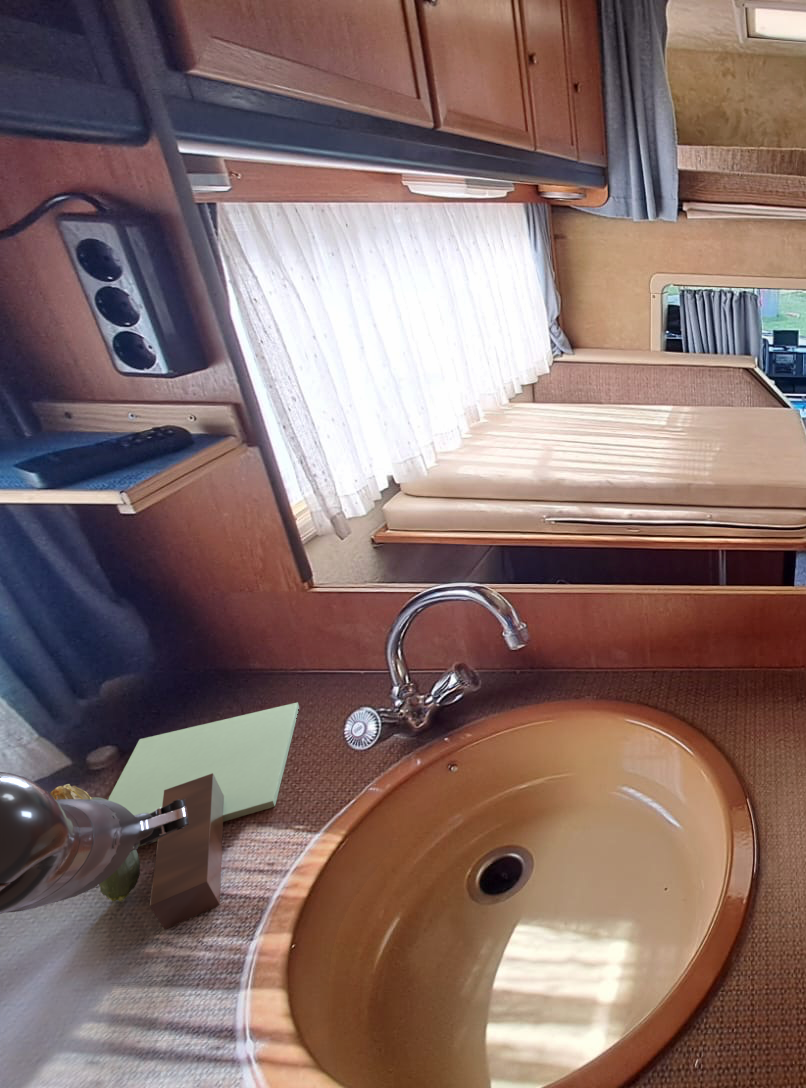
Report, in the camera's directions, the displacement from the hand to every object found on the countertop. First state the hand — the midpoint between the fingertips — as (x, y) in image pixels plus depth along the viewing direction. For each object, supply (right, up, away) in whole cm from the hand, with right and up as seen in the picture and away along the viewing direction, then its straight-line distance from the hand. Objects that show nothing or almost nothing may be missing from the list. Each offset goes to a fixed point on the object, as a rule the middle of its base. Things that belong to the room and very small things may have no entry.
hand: (126, 841), depth 62 cm
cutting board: (-23, -8, +32) cm, 40 cm away
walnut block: (-6, -15, +12) cm, 21 cm away
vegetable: (-16, -16, +15) cm, 27 cm away
